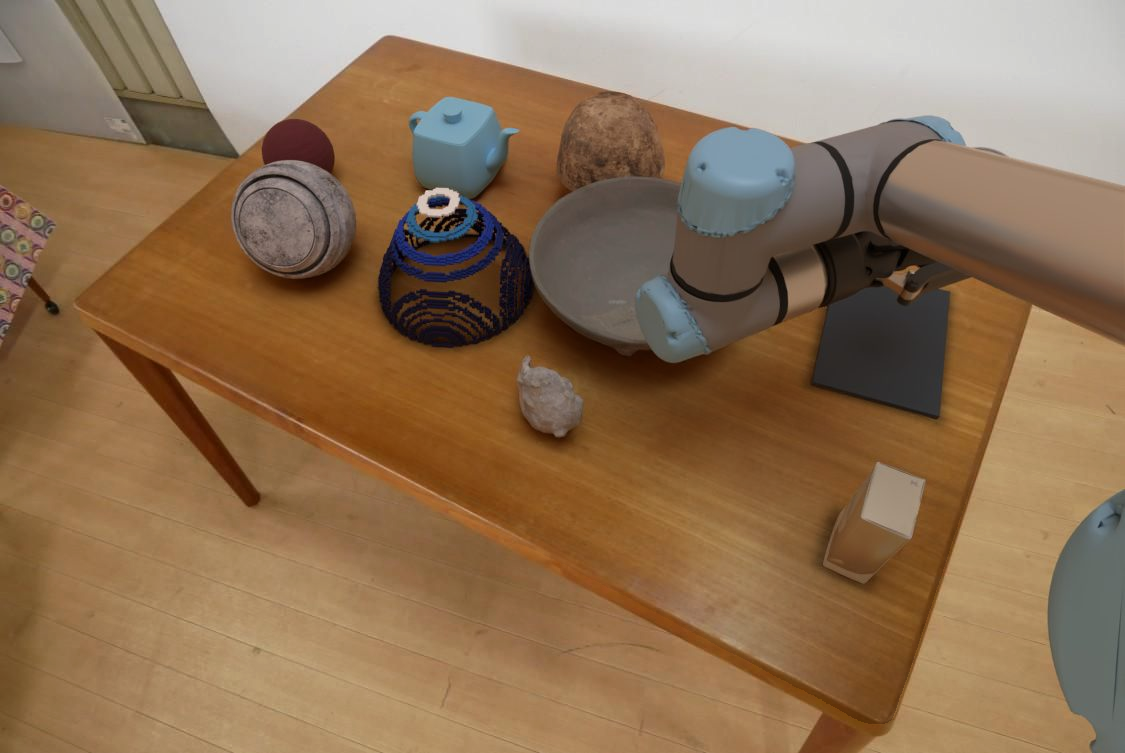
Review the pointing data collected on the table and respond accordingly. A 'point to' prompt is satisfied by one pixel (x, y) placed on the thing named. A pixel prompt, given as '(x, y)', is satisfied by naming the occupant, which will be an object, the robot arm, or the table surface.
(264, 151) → the decorative ball
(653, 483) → the table surface
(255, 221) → the decorative orb
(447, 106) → the teapot
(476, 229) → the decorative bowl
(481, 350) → the table surface
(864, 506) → the cosmetic box
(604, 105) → the brown rounded lump
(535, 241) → the bowl
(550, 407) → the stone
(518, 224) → the table surface
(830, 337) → the slate mat
